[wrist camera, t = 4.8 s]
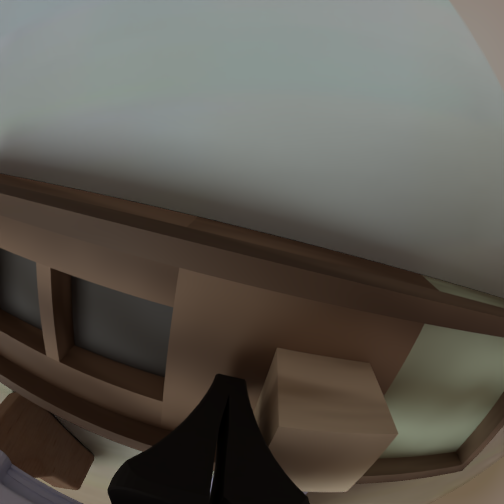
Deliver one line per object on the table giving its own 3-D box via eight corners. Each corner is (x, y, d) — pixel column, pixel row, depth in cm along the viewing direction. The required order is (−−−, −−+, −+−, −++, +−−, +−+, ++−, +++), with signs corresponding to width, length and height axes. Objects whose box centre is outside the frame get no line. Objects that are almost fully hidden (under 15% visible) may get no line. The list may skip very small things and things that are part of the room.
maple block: (334, 424, 14) (346, 491, 10) (252, 414, 14) (247, 486, 10) (369, 362, 13) (398, 433, 9) (276, 347, 13) (278, 426, 8)
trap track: (448, 441, 18) (462, 470, 14) (1, 341, 17) (-24, 364, 14) (534, 308, 14) (563, 331, 10) (-13, 171, 13) (-53, 179, 10)
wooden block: (97, 456, 20) (32, 603, 3) (72, 457, 21) (9, 584, 4) (28, 385, 18) (-77, 530, 1) (10, 391, 19) (-82, 515, 2)
